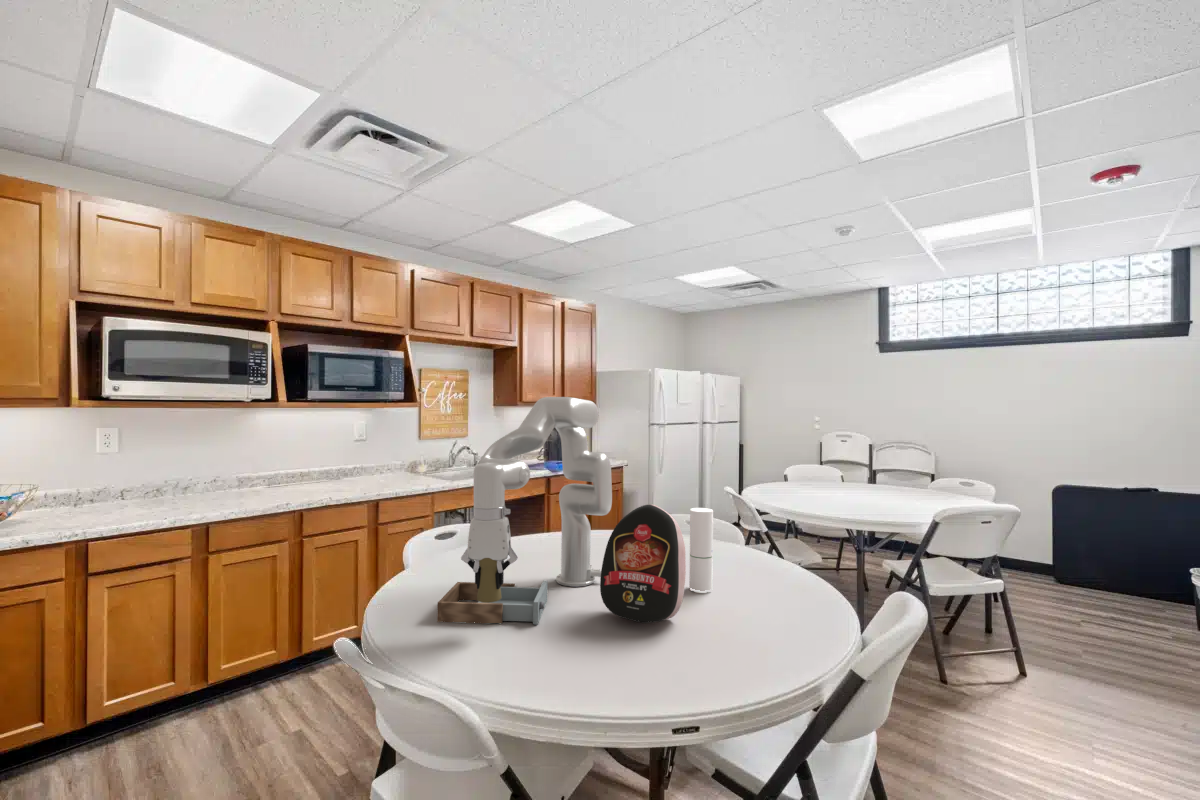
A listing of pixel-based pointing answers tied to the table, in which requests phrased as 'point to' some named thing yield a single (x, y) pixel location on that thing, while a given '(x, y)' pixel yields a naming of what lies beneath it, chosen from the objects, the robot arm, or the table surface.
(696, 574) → the cylindrical container
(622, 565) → the packaged food
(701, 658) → the table surface
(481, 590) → the cork
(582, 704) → the table surface
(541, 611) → the tray
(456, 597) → the frame
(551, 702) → the table surface
